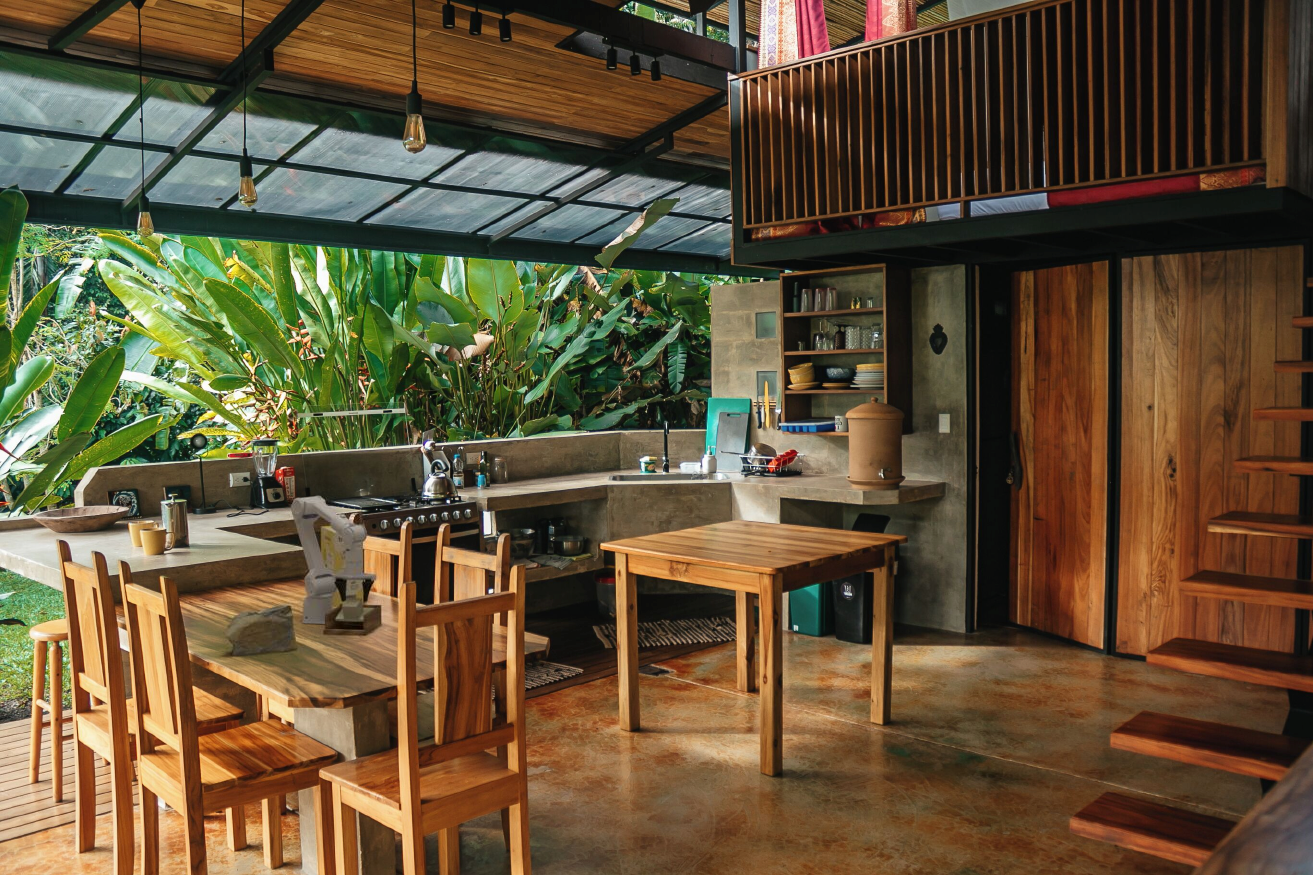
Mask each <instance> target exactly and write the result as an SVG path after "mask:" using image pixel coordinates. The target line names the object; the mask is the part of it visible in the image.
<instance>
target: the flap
mask: <svg viewBox="0 0 1313 875" xmlns="http://www.w3.org/2000/svg"><path fill="white" fill-rule="evenodd" d="M363 609H364V611H363V613H362V614H361V616H360V618H359V619H344V616H343V610H342V609H341V611H340V612H339V614H338V615H337V617H336V621H355V622H363V615H365V614H366V613H368V612H370V611H371V610H373V609H374V608H363Z"/></svg>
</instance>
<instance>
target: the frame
mask: <svg viewBox="0 0 1313 875" xmlns="http://www.w3.org/2000/svg"><path fill="white" fill-rule="evenodd" d="M342 605H343V604H340V605H339V607H334V608H333V610H331V611H330V612H328V613H326V614H325V624H324V629H322V630H323V635H329V636H330V635H334V636H335V635H336V636H361V637H362V636H363V637H365V636H367V635H369V634H370V633H372V632H373V631H374V630H377V629H379V627H380V626H382V604H365V603H363V608H374V609H373V610H371V611H370V612H368V613H366V614H365V615H363V622H355V621H336V617H337V615H338V614H339V612H340V611H341V609H342ZM342 626H363V629H340V627H342ZM338 628H339V629H338Z"/></svg>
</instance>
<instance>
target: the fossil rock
mask: <svg viewBox="0 0 1313 875" xmlns="http://www.w3.org/2000/svg"><path fill="white" fill-rule="evenodd" d="M223 634H224V635H225V638H227V640H228V641H229V642H230V644H232V649H231V656H232V657H236V656H245V655H247V656H248V655H256V654H257V655H258V654H260V655H261V654H266V653H278V652H290V651H297V650H298V647H297V639H296V633H295V628H294V615H293V610H292V605H286V604H285V605H276V606H272V607H267V608H266V609H261V610H258V611H257V612H256V611H252V612H250V611H245V612H243V613H239V614H237V615H235V616H233V617H232V619H231V621H230V622H229V624H228V626H227V627H226V629H224V631H223Z"/></svg>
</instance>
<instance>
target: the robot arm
mask: <svg viewBox="0 0 1313 875" xmlns="http://www.w3.org/2000/svg"><path fill="white" fill-rule="evenodd" d="M290 511H291V513H292V518H293V520H294V523H295V526H296V530H297V533H298V534H297V535H298V537H299V541H300V543H301V547H302V550H303V555H304V557H305V560H306V565H307V568H308V571H309V572H307V574H306V575H305V577H304V583H305V584H304V585H305V586H304V589H305V592H306V594H307V595H306V596H305V597H304V599H303V602H302V622H301V623H302V624H309V625H310V624H312V625H313V624H315V625H325V614H326V613H328V612H330V611H331V610H333V609H334V606H333V595H334V593H335V592H336V591H337V589H338V591H339V593H340V597H341V601H345V600H346V584H347V580H363V582H362V586H363V603H367V602H368V600H369V595H370V593H371V590H372V587H373V585H374V583H375V581H376V580H377V574H376V573H375V574H374V573H365V572H364V542H365V541H366V539H367V537H368V531H367V529H366V527H365V526H364V525H363V524H355V522H353V521H351V520H350V519H349V518H348V517H347V515H345V514H338V513H336V512H335V511H334V510H332V508H331V507H330V506H328V504H327V502H326V500H325V499H324V498H323V497H322V496H321V495H315V496H307V497H306V496H305V497H296V498H294V499H293V501H292V504H291V506H290ZM319 517H321V518H323V519H324V520H325V521H326V522H329V523H330V524H329V526H331V528H332V529H333V530H335V531H336V532H337V533H339V534H340V535H341V537H342V540H343V542H344V548H345V549H346V573H334V574H333V572H332V571H331V570H330V569H328V568H326V567H325V565H324V561H323V558H322V554H321V547H320V545H319V542H318V538H317V534H316V532H315V529H314V528H315V527H314V523H315V522H317V520H318V519H319Z"/></svg>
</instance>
